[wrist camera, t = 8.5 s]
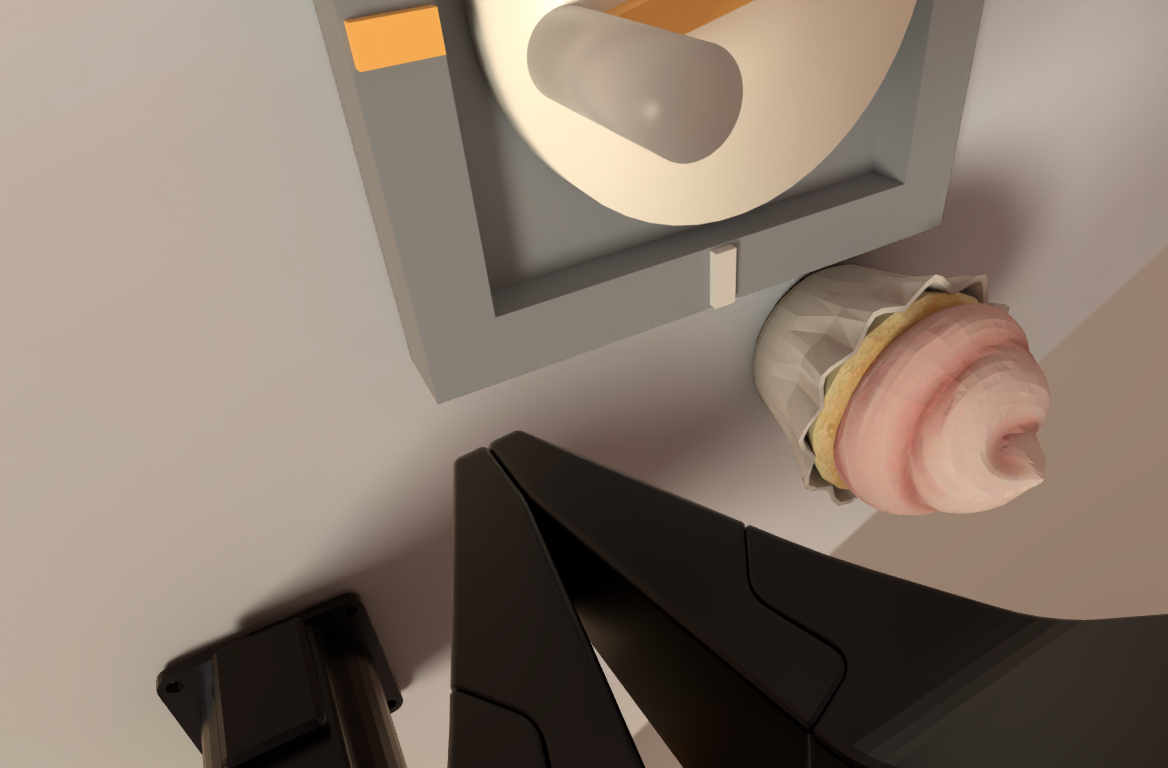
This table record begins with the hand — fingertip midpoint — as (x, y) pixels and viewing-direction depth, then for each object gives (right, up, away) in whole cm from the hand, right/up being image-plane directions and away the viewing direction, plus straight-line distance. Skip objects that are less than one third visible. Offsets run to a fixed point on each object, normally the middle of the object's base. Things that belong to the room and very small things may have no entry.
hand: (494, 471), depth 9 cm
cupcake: (+10, +3, +21) cm, 23 cm away
